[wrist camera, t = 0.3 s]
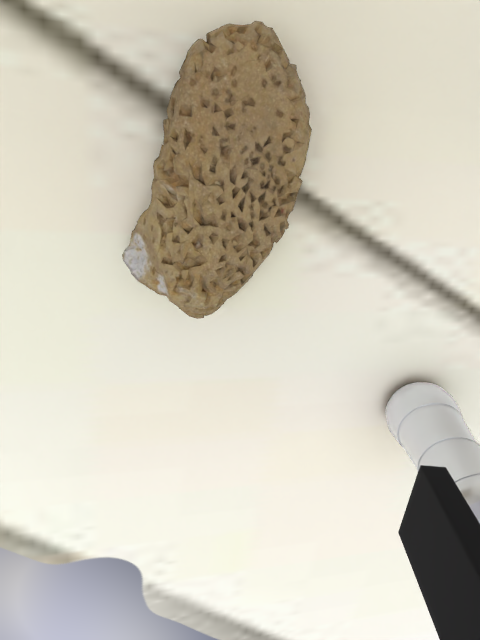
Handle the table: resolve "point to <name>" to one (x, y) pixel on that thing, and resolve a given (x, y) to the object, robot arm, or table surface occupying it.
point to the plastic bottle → (436, 435)
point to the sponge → (222, 169)
